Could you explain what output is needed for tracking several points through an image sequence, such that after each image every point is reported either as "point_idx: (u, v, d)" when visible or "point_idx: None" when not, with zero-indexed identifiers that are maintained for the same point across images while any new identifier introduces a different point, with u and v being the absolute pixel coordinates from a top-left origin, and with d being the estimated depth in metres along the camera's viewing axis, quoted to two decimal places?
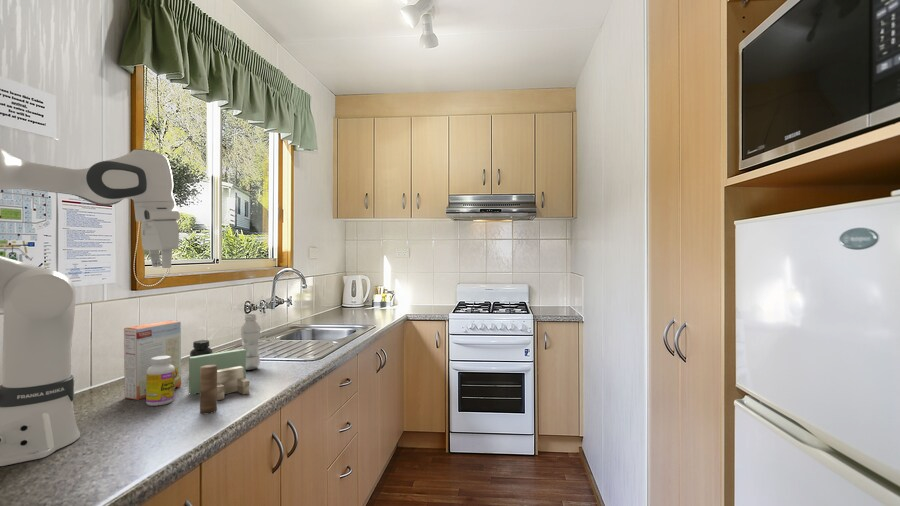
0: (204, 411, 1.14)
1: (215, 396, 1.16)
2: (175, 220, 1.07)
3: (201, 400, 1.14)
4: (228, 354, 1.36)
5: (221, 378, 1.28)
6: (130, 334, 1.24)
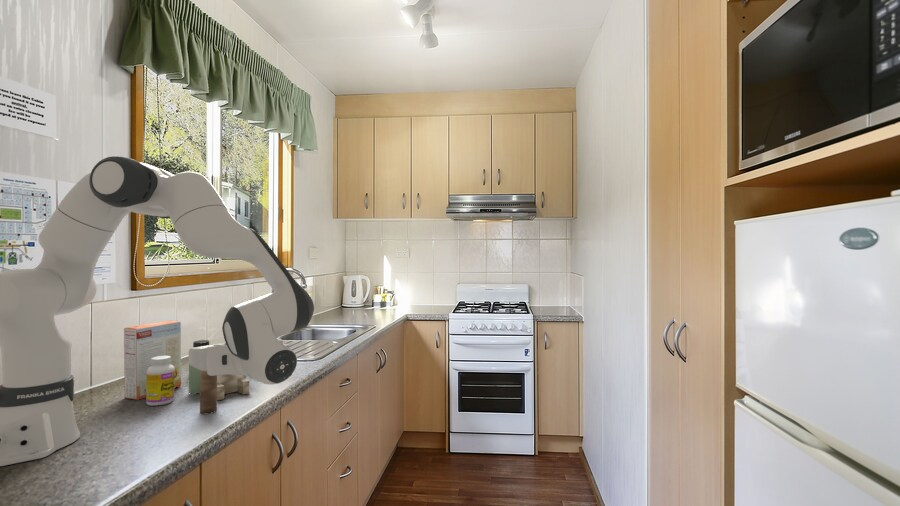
0: (204, 411, 1.14)
1: (215, 396, 1.16)
2: (206, 369, 0.94)
3: (201, 400, 1.14)
4: None
5: (221, 378, 1.28)
6: (130, 334, 1.24)
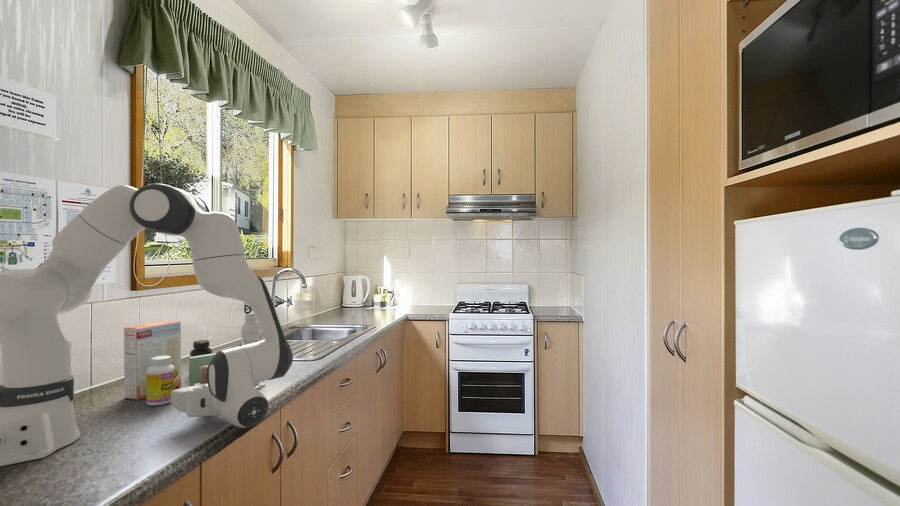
0: None
1: None
2: None
3: None
4: None
5: None
6: (130, 334, 1.24)
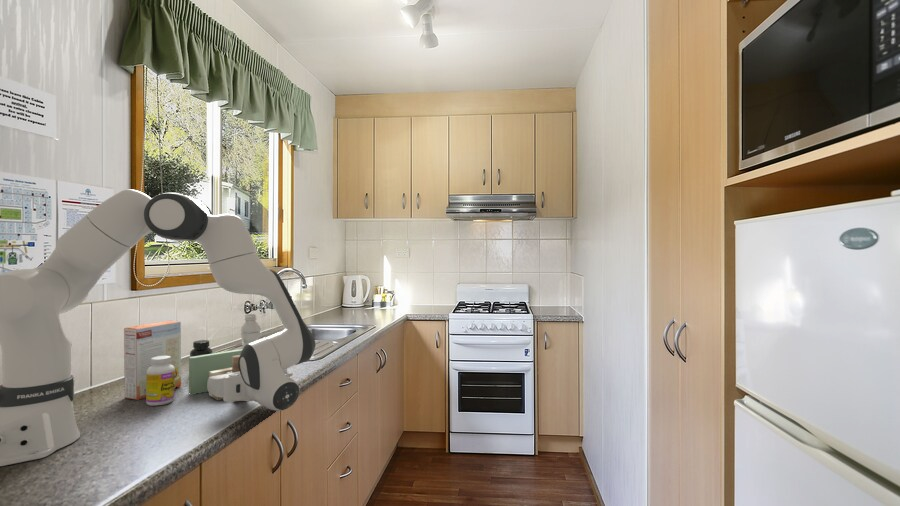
0: None
1: None
2: None
3: None
4: (228, 354, 1.36)
5: None
6: (130, 334, 1.24)
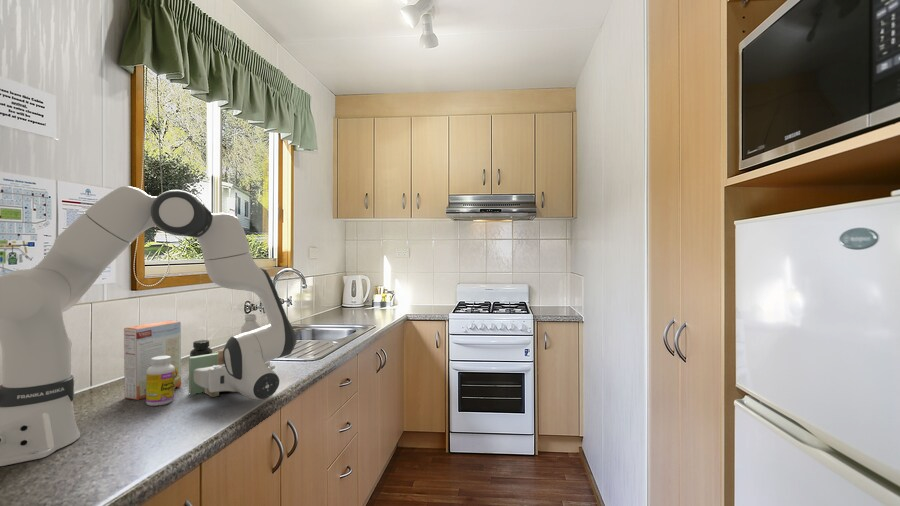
0: None
1: None
2: None
3: None
4: None
5: None
6: (129, 334, 1.24)
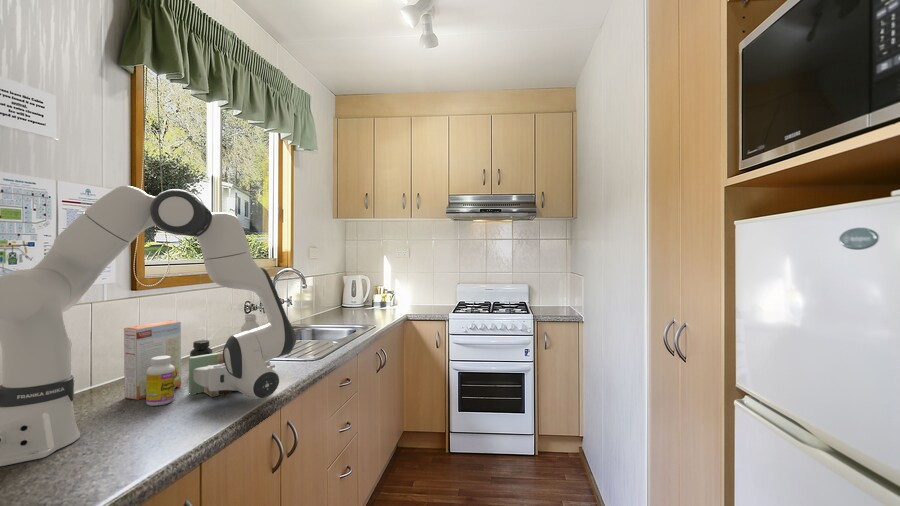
0: (221, 392, 1.29)
1: None
2: None
3: None
4: None
5: None
6: (130, 334, 1.24)
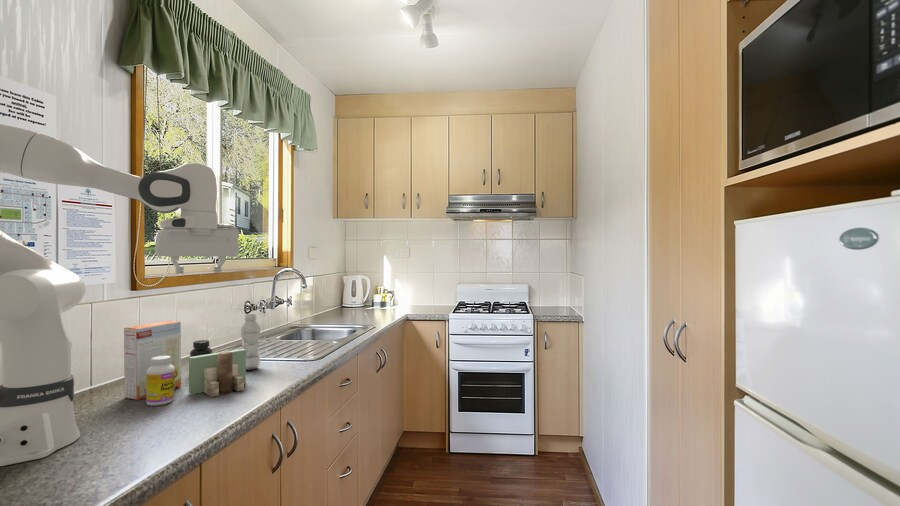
0: (221, 392, 1.29)
1: (231, 379, 1.31)
2: (166, 228, 1.11)
3: (219, 382, 1.30)
4: None
5: (216, 376, 1.31)
6: (130, 334, 1.24)
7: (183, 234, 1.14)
